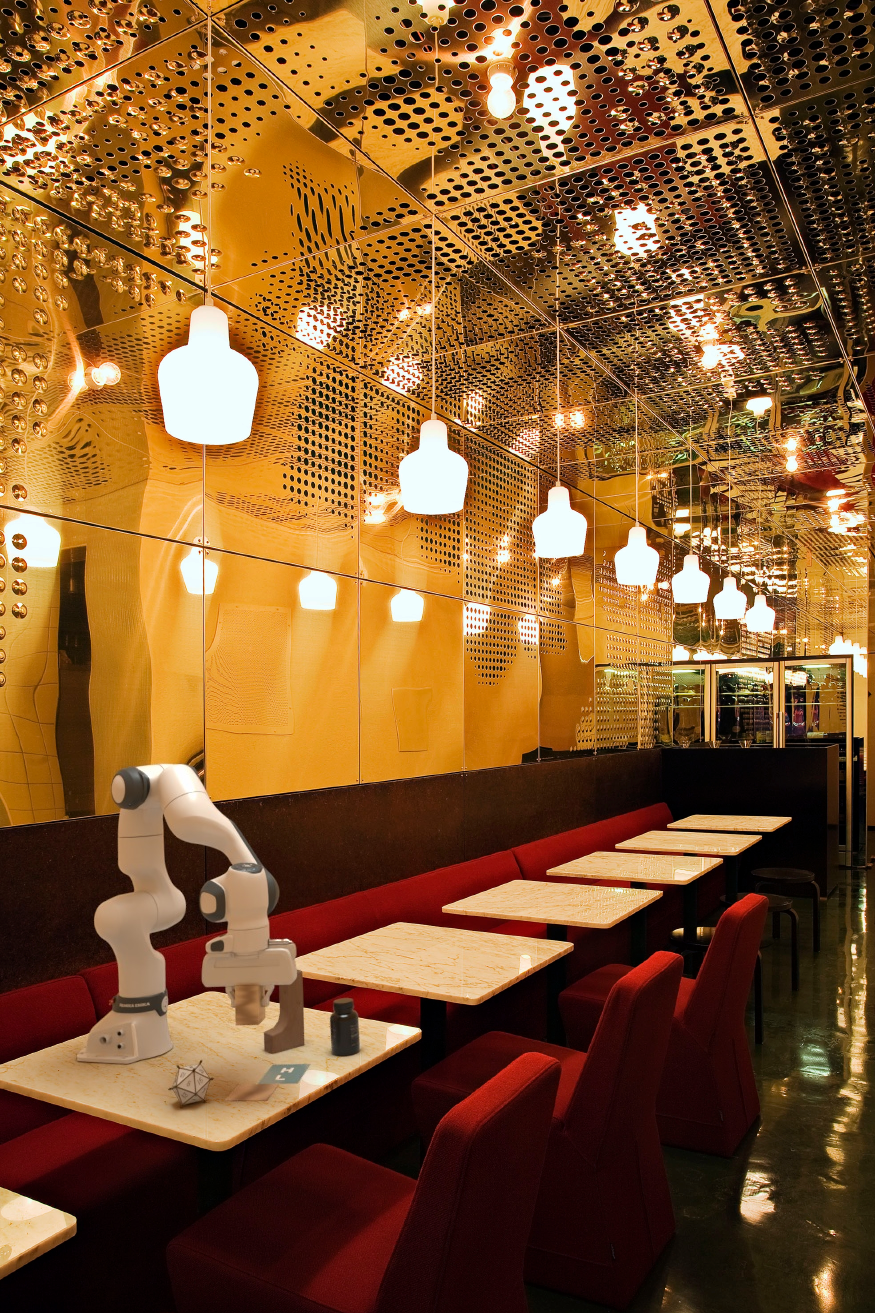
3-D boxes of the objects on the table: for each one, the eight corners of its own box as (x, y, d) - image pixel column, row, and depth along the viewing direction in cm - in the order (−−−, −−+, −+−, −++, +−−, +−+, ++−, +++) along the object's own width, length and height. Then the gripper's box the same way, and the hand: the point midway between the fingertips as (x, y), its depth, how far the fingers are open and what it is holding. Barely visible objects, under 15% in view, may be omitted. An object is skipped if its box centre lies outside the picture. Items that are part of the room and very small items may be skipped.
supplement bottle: (354, 1046, 212) (352, 995, 214) (364, 1054, 206) (362, 1001, 207) (327, 1051, 209) (325, 999, 211) (336, 1059, 203) (334, 1006, 204)
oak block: (235, 1025, 184) (234, 986, 185) (243, 1018, 189) (242, 980, 190) (258, 1025, 183) (257, 985, 184) (265, 1018, 188) (264, 979, 189)
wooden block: (272, 1055, 208) (270, 977, 211) (263, 1051, 212) (261, 974, 214) (305, 1046, 214) (303, 970, 216) (296, 1042, 218) (293, 967, 220)
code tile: (257, 1085, 189) (257, 1084, 189) (272, 1065, 201) (272, 1064, 201) (297, 1084, 188) (297, 1083, 188) (310, 1065, 200) (310, 1064, 200)
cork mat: (224, 1102, 180) (224, 1100, 180) (238, 1086, 189) (238, 1084, 189) (267, 1102, 179) (266, 1100, 179) (278, 1085, 188) (278, 1083, 188)
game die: (181, 1125, 179) (152, 1085, 180) (210, 1096, 186) (181, 1058, 187) (201, 1112, 174) (171, 1071, 175) (230, 1082, 181) (200, 1043, 182)
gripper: (299, 935, 190) (301, 1001, 188) (208, 938, 192) (210, 1003, 190) (292, 941, 184) (294, 1009, 182) (198, 944, 186) (199, 1012, 184)
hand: (250, 1006), depth 186 cm, fingers closed on oak block, 5 cm apart
